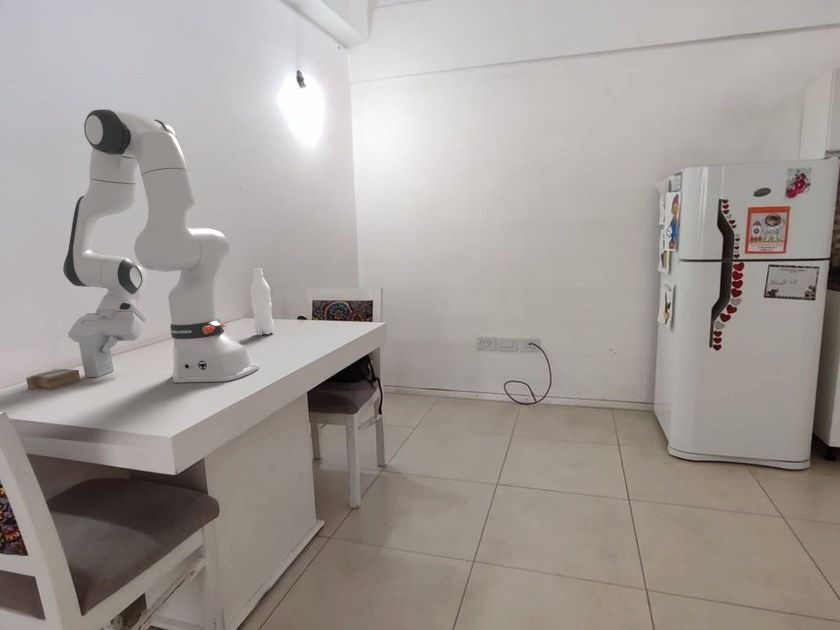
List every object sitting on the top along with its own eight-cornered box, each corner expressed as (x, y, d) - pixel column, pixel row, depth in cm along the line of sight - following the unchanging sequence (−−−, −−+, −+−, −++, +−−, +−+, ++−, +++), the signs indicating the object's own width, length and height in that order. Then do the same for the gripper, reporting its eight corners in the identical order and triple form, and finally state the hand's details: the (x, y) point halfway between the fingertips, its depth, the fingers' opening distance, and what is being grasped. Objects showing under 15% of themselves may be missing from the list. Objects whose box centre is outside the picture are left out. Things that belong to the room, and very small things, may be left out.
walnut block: (80, 380, 131) (78, 369, 130) (50, 390, 123) (48, 377, 123) (59, 379, 133) (56, 368, 133) (28, 388, 126) (25, 376, 125)
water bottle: (268, 336, 179) (261, 268, 175) (251, 336, 181) (243, 269, 177) (278, 332, 186) (271, 267, 182) (261, 332, 188) (254, 267, 184)
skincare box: (101, 371, 140) (94, 330, 138) (114, 371, 139) (107, 330, 137) (84, 377, 134) (76, 335, 132) (97, 377, 133) (90, 334, 132)
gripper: (75, 307, 142) (52, 347, 134) (139, 304, 139) (119, 345, 131) (90, 319, 147) (69, 359, 139) (151, 317, 144) (133, 357, 136)
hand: (94, 352), depth 135 cm, fingers closed on skincare box, 4 cm apart
